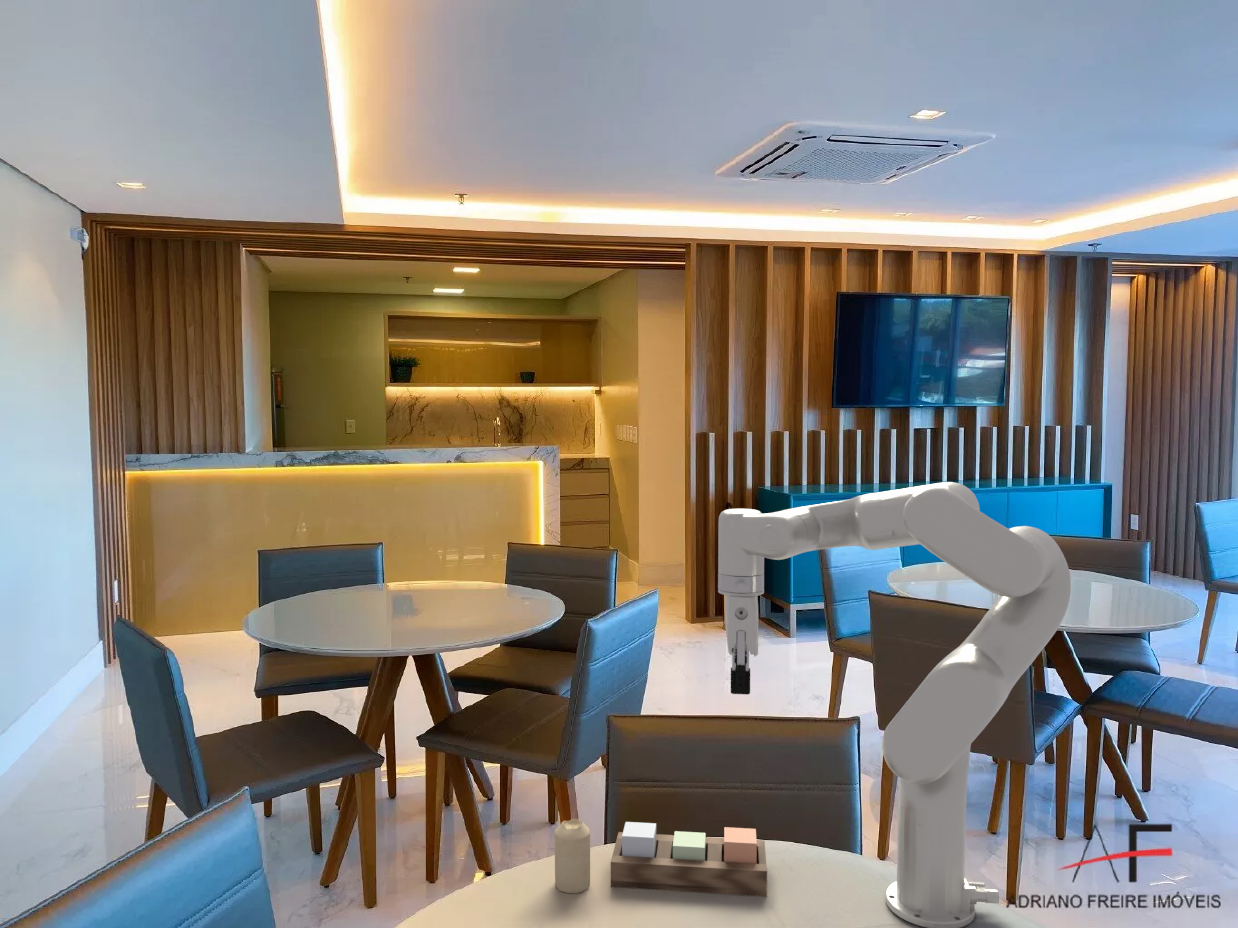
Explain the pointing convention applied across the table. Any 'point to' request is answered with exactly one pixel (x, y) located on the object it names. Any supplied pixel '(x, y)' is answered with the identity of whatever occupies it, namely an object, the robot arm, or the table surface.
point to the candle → (572, 856)
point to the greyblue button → (639, 839)
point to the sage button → (689, 846)
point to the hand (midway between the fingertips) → (740, 692)
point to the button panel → (690, 870)
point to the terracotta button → (740, 845)
